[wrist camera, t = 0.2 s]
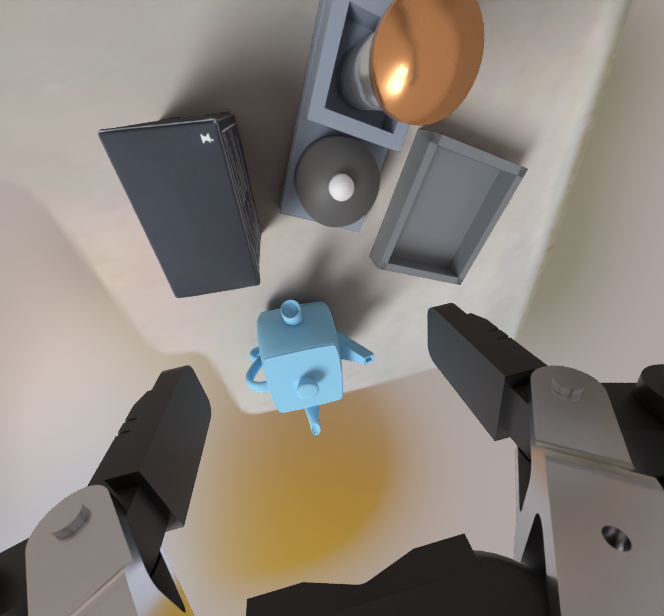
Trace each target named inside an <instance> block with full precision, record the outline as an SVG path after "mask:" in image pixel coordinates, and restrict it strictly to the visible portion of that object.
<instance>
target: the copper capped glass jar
mask: <svg viewBox="0 0 664 616" xmlns="http://www.w3.org/2000/svg"><path fill="white" fill-rule="evenodd" d="M483 48H484V25H483V19H482V14H481V11H480V8H479V5H478V3H477V1H476V0H394V1H393V2H392V3H391V4H390V5H389V7H388V8H387V9H386V11H385V12H384V13H383V15H382V17H381V19H380V20H379V22H378V25H377V27H376V29H375V32H374V33H372V34H371V35H369V36H368V37H366V38H365V39H363V40H362V41H360V42H359V43H357V44H356V45H354V46H353V47H351V48H350V49H349V50H347V51H346V53H345V54H344V55H343V56H342V58H341V60H340V62H339V65H338V68H337V75H336V83H337V89H338V92H339V95H340V97H341V98H342V100H343V101H344V103H345V104H346V105H347V106H349V107H350V108H352V109H355V110H381V111H384V112H385V113H386V114H387V115H388V116H389V117H390V118H392V119H393V120H395V121H397V122H400V123H404V124H412V125H428V124H432V123H435V122H438V121H440V120H442V119H444V118H445V117H447V116H448V115H449V114H451V113H452V112H453V111H454V110H455V109H456V108H457V107H458V106H459V105H460V104H461V103H462V101H463V100H464V99H465V97H466V96H467V94H468V93H469V91H470V89H471V87H472V85H473V83H474V81H475V79H476V76H477V74H478V71H479V68H480V64H481V60H482V55H483Z"/></svg>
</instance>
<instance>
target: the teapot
mask: <svg viewBox="0 0 664 616" xmlns="http://www.w3.org/2000/svg"><path fill="white" fill-rule="evenodd" d="M257 337H258V345H259V347H256V348H254V349H252V350H251V352H250V359H251V361H253V362H254V363H253V364H252V365H251V367H250V368H249V370H248V372H247V374H246V383H247V385H248V387H249V388H250V389H252V390H253V391H256V392H267V391H270V393H271V396H272V398H273V401H274V403H275V405H276V407H277V409H278V410H279V412H281V413H284V412H289V411H294V410H299V409H303V408H305V411H306V413H307V416H308V419H309V423H310V427H311V430H312V433H313V434H314V435H318V434H319V433H320V429H321V428H320V419H319V405H321V404H324V403H328V402H332V401H336V400H339V399H341V398H342V395H343V378H342V364H341V359H345V360H350V361H354V362H359V363H363V364H364V365H365V364H367V363H370V362H372V361H374V353H372V352H371V351H369V350H368V349H366V348H364V347H363V346H361V345H360V344H358V343H356V342H355V341H353V340H351V339H350V338H348V337H347V336H345V335H343V334H342V333H340V332H339V331H336V329H335V325H334V321H333V317H332V314H331V311H330V309H329V307H328V306H327V304H326V303H325V302H324V301H317V302H310V303H305V304H299V303H298V302H297V301H295V300H293V299H289V300H286V301H284V302H283V303H282V305H281V308H279V309H274V310H270V311H265V312H262V313H260V315H259V317H258V320H257ZM262 365H263V370H264V374H265V377H266V381H263V382H255V381H253V380H254V377H255V375H256V374H257V372H258V371H259V369H260V368H261V367H262Z"/></svg>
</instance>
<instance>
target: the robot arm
mask: <svg viewBox="0 0 664 616" xmlns="http://www.w3.org/2000/svg"><path fill="white" fill-rule="evenodd" d="M428 350H429V353H430V356H431V358H432V360H433V362H434V363H435V365H436V366H437V367H438V369H439V370H440V371H441V372H442V374H443V375H444V376H445V378H446V379H447V380H448V381H449V383H450V384H451V385H452V386H453V388H454V389H455V390H456V392H457V393H458V394H459V396H460V397H461V398H462V399H463V401H464V402H465V403H466V405H467V406H468V407H469V408H470V410H471V411H472V412H473V414H474V415H475V416H476V417H477V419H478V420H479V421H480V423H481V424H482V425H483V426H484V428H485V429H486V430H487V432H488V433H489V434H490V435H491V437H492V438H493V439H494V441H497V440H501V439H504V438H508V437H511V439H512V440H513V441H514V442H515V443H516V448H515V475H516V477H515V478H516V530H515V539H514V557H513V559H511V558H508V557H504V556H501V555H498V554H495V553H490V552H484V551H475V550H472V548H471V546H470V544H469V542H468V540H467V538H466V536H465V534H461V535H458V536H454V537H451V538H448V539H444V540H441V541H438V542H435V543H431V544H428V545H425V546H421V547H418V548H415V549H413V550H411V551H410V552H408V553H407V554H406V555H404V556H403V557H401V558H400V559H399V560H397V561H396V562H395V563H393V564H392V565H390V566H389V567H387V568H386V569H385V570H383V571H382V572H380V573H379V574H378V575H377V576H375V577H373V578H372V579H371V580H369V581H368V582H366V583H364V584H361V585H349V584H328V583H306V582H302V583H299V584H296V585H292V586H289V587H286V588H282V589H279V590H276V591H272V592H269V593H266V594H263V595H259V596H256V597H253V598H249V599H247V609H246V616H664V364H660V365H652V366H648V367H646V368H645V369H644V370H643V371H642V373H641V375H640V377H639V379H638V382H637V383H599V382H598V381H597V380H596V379H594V378H593V377H591V376H590V375H588V374H586V373H584V372H581V371H579V370H576V369H572V368H569V367H564V366H547V365H546V364H545V363H543V362H542V361H541V360H539V359H538V358H537V357H535V356H534V355H533V354H532V353H530V352H529V351H527V350H526V349H525V348H523V347H522V346H521V345H519V344H518V343H517V342H516V341H514V340H513V339H512V338H509V337H508V335H507V334H505V333H504V332H503V331H501V330H499V329H498V328H497V327H496V326H495V325H493V324H492V323H491V322H489V321H488V320H487V319H484V318H482V317H479V316H477V315H474V314H472V313H470V314H466V313H465V312H464V311H462V310H461V309H460V308H459V307H457V306H456V305H455V304H453V303H448V304H444V305H440V306H436V307H432V308H429V310H428ZM210 419H211V407H210V402H209V400H208V397H207V395H206V393H205V392H204V390H203V388H202V386H201V384H200V382H199V380H198V378H197V376H196V374H195V372H194V370H193V369H192V367H190V366H188V365H187V366H183V367H179V368H174V369H170V370H166V371H163V372H162V373H161V374H160V376H159V378H158V379H157V381H156V383H155V385H154V387H153V389H152V390H151V391H147V392H146V393H145V394H144V395H143V397H141V398H140V400H138V401H137V403H136V404H135V405H134V406H133V407H132V409H131V411H130V413H129V414H128V416H127V418H126V420H125V423H123V425H122V427H121V428H120V430H119V432H118V436H116V437H115V439H114V441H113V442H112V444H111V446H110V448H109V449H108V451H107V453H106V454H105V456H104V458H103V460H102V461H101V463H100V465H99V467H98V468H97V470H96V472H95V474H94V475H93V477H92V479H91V481H90V482H89V484H88V486H87V487H85V488H83V489H80V490H78V491H77V492H74V493H73V494H71V495H69V496H68V497H66V498H65V499H63V500H62V501H61V502H60V503H58V504H57V505H56V506H55V507H53V508H52V509H51V510H50V511H49V512H48V513H47V514H46V515H45V516H44V518H43V519H42V520H41V521H40V522H39V524H38V525H37V526H36V528H35V529H34V531H33V532H32V534H31V536H30V538H28V539H26V540H24V541H22V542H21V543H18V544H16V545H15V546H13V547H11V548H9V549H7V550H5V551H3V552H2V553H0V616H195V615H194V613H193V611H192V609H191V607H190V605H189V602H188V600H187V598H186V596H185V594H184V591H183V589H182V587H181V585H180V583H179V580H178V578H177V576H176V574H175V572H174V569H173V567H172V565H171V563H170V561H169V559H168V556H167V554H166V552H165V550H164V549H163V548H162V547H161V545H162V541H163V538H164V534H165V532H167V531H170V530H174V529H177V528H181V527H184V524H185V520H186V516H187V512H188V508H189V504H190V500H191V496H192V492H193V488H194V483H195V480H196V475H197V472H198V467H199V464H200V460H201V456H202V452H203V447H204V443H205V439H206V435H207V431H208V427H209V423H210Z"/></svg>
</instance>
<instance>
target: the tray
mask: <svg viewBox="0 0 664 616" xmlns="http://www.w3.org/2000/svg"><path fill="white" fill-rule="evenodd" d="M527 170H528V169H527V168H524V167H522V166H519V165H517V164H514V163H512V162H509V161H507V160H505V159H502V158H500V157H497V156H495V155H492V154H490V153H487V152H485V151H482V150H480V149H477V148H475V147H472V146H470V145H467V144H465V143H462V142H460V141H457V140H455V139H452V138H450V137H447V136H445V135H442V134H440V133H437V132H435V131H427V130H419V129H418V131H417V134H416V136H415V139H414V142H413V144H412V147H411V149H410V152H409V155H408V157H407V160H406V162H405V165H404V168H403V170H402V173H401V175H400V178H399V181H398V183H397V186H396V188H395V191H394V194H393V196H392V199H391V201H390V204H389V207H388V209H387V212H386V214H385V217H384V220H383V222H382V225H381V227H380V230H379V233H378V235H377V238H376V240H375V243H374V246H373V248H372V251H371V253H370V256H369V257H370V258H371V260H372V261H373V262H374V264H375V265H376V266H377V268H378V269H383V270H388V271H393V272H398V273H403V274H408V275H413V276H418V277H423V278H428V279H433V280H438V281H443V282H448V283H453V284H458V285H461V283H462V281H463V280H464V278H465V276H466V274H467V273H468V271H469V269H470V268H471V266H472V264H473V262H474V261H475V259H476V257H477V256H478V254H479V252H480V250H481V249H482V247H483V245H484V244H485V242H486V240H487V238H488V237H489V235H490V233H491V232H492V230H493V228H494V226H495V225H496V223H497V221H498V220H499V218H500V216H501V215H502V213H503V211H504V209H505V208H506V206H507V204H508V203H509V201H510V199H511V197H512V196H513V194H514V192H515V191H516V189H517V187H518V185H519V184H520V182H521V180H522V179H523V177H524V175H525V173H526V172H527Z"/></svg>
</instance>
